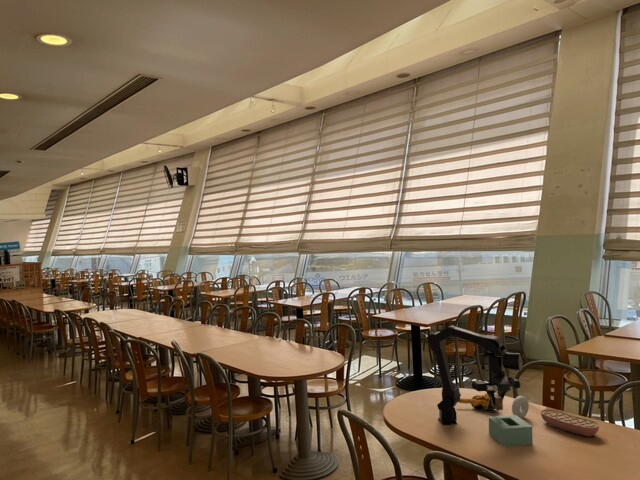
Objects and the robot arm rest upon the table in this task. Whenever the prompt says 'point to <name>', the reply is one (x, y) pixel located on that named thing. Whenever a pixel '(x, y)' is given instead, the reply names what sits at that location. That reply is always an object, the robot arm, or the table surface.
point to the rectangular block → (498, 402)
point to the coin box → (510, 430)
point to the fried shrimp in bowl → (479, 402)
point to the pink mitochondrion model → (570, 422)
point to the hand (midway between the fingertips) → (497, 405)
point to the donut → (519, 410)
